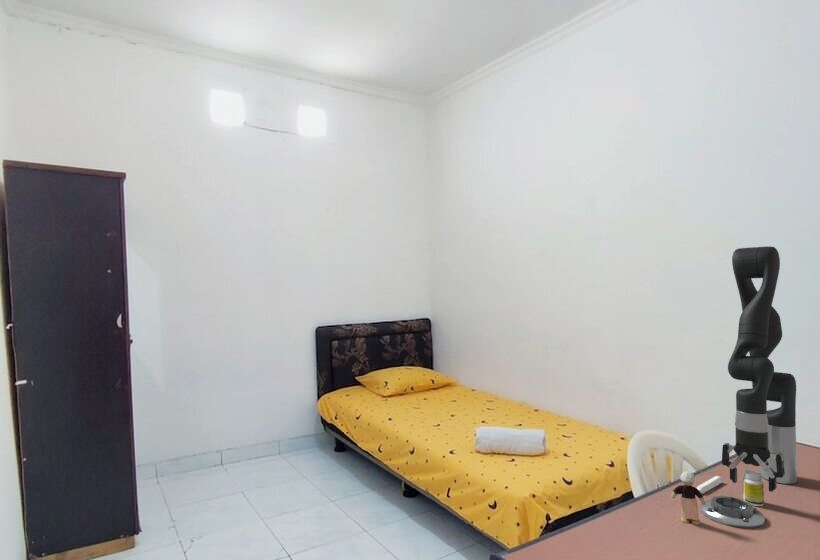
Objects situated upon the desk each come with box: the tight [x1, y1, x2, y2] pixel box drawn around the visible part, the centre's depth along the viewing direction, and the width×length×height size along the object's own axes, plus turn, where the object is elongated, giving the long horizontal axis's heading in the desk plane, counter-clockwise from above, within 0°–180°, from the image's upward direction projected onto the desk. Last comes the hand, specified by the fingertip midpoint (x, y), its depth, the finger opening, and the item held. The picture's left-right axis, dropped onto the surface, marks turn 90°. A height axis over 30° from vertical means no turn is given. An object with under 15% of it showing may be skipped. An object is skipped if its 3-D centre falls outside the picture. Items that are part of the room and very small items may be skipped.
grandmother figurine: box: [670, 470, 706, 525], centre depth 127 cm, size 8×4×13 cm, turn 71°
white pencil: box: [696, 475, 724, 495], centre depth 147 cm, size 3×2×16 cm
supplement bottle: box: [742, 469, 765, 507], centre depth 137 cm, size 5×5×8 cm
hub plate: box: [700, 495, 765, 529], centre depth 130 cm, size 14×14×3 cm
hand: (752, 486), depth 137 cm, fingers open, 8 cm apart
